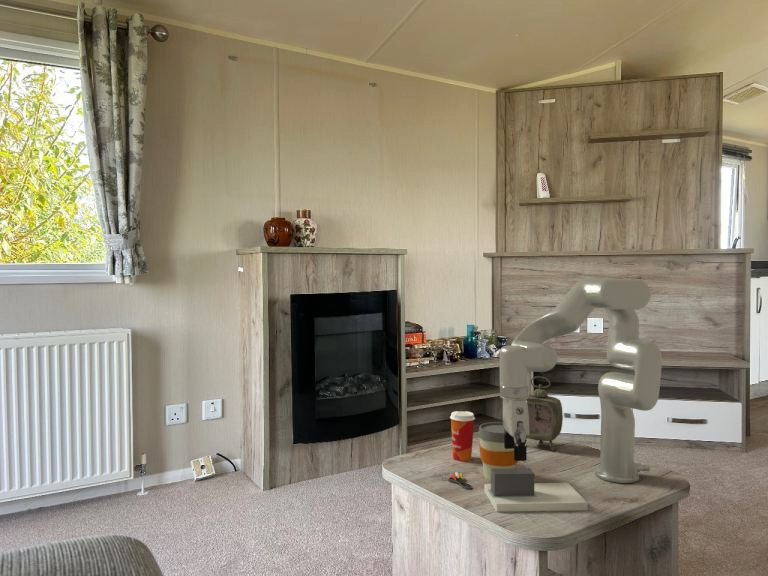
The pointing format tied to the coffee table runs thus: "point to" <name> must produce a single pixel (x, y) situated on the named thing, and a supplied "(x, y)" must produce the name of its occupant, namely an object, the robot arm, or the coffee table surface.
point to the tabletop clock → (544, 415)
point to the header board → (540, 499)
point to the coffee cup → (462, 435)
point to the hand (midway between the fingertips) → (515, 454)
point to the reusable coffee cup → (494, 448)
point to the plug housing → (512, 482)
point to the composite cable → (459, 480)
